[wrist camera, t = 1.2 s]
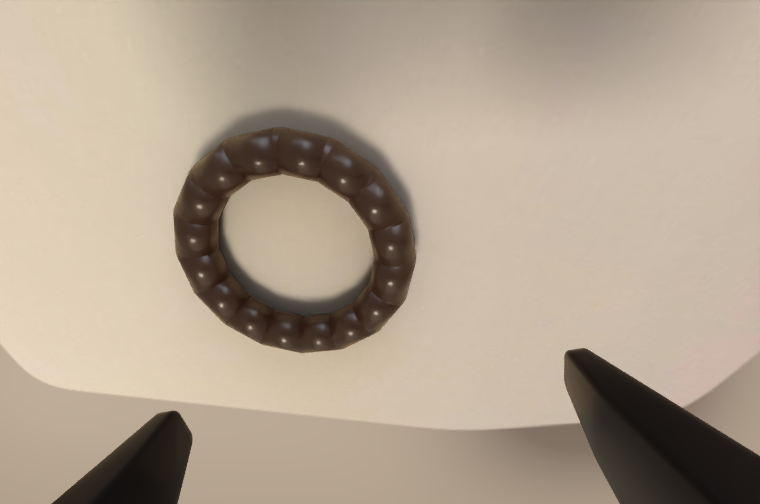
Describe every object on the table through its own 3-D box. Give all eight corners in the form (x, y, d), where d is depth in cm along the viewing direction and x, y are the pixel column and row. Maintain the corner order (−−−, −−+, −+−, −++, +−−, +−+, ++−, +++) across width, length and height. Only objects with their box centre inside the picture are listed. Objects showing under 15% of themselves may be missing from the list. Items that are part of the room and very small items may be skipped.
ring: (389, 101, 17) (386, 107, 15) (430, 325, 22) (431, 348, 20) (149, 152, 19) (120, 162, 17) (236, 345, 24) (221, 368, 22)
